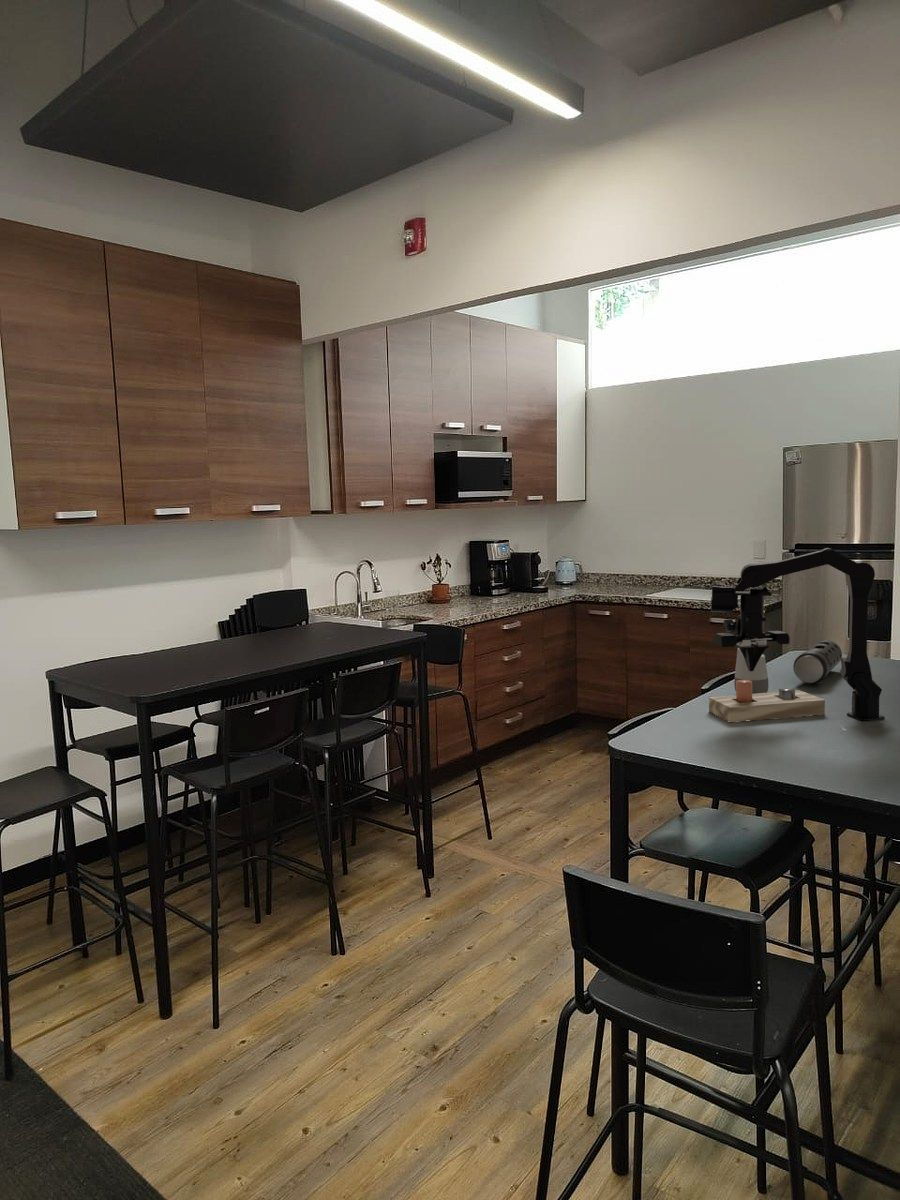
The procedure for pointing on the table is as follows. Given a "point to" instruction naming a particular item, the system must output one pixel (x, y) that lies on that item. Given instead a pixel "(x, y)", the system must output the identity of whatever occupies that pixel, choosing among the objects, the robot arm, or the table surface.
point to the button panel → (766, 706)
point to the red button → (743, 691)
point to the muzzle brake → (817, 662)
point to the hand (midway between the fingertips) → (750, 671)
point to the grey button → (786, 693)
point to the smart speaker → (752, 673)
